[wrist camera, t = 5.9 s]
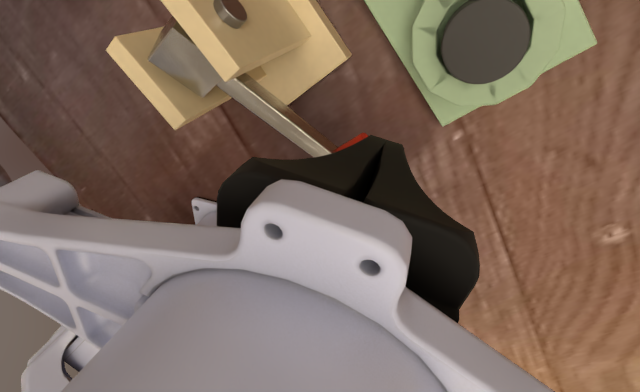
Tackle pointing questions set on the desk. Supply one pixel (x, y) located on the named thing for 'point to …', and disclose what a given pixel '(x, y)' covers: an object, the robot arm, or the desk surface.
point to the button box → (461, 98)
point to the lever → (235, 89)
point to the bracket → (236, 51)
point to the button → (485, 40)
